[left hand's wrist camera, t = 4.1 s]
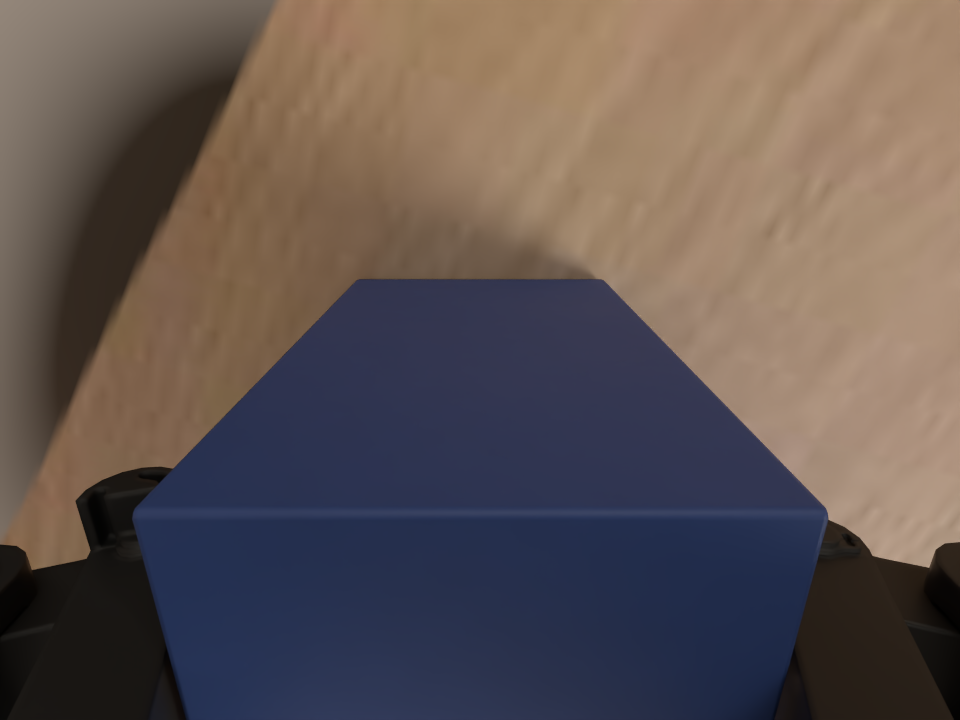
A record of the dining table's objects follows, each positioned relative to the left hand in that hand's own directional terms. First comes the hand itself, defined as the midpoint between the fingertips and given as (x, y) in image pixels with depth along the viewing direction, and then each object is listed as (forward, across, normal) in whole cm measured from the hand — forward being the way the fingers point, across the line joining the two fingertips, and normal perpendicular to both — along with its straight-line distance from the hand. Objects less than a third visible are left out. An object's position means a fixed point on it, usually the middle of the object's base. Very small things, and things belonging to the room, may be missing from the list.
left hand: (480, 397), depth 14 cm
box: (+1, 0, -9) cm, 9 cm away
